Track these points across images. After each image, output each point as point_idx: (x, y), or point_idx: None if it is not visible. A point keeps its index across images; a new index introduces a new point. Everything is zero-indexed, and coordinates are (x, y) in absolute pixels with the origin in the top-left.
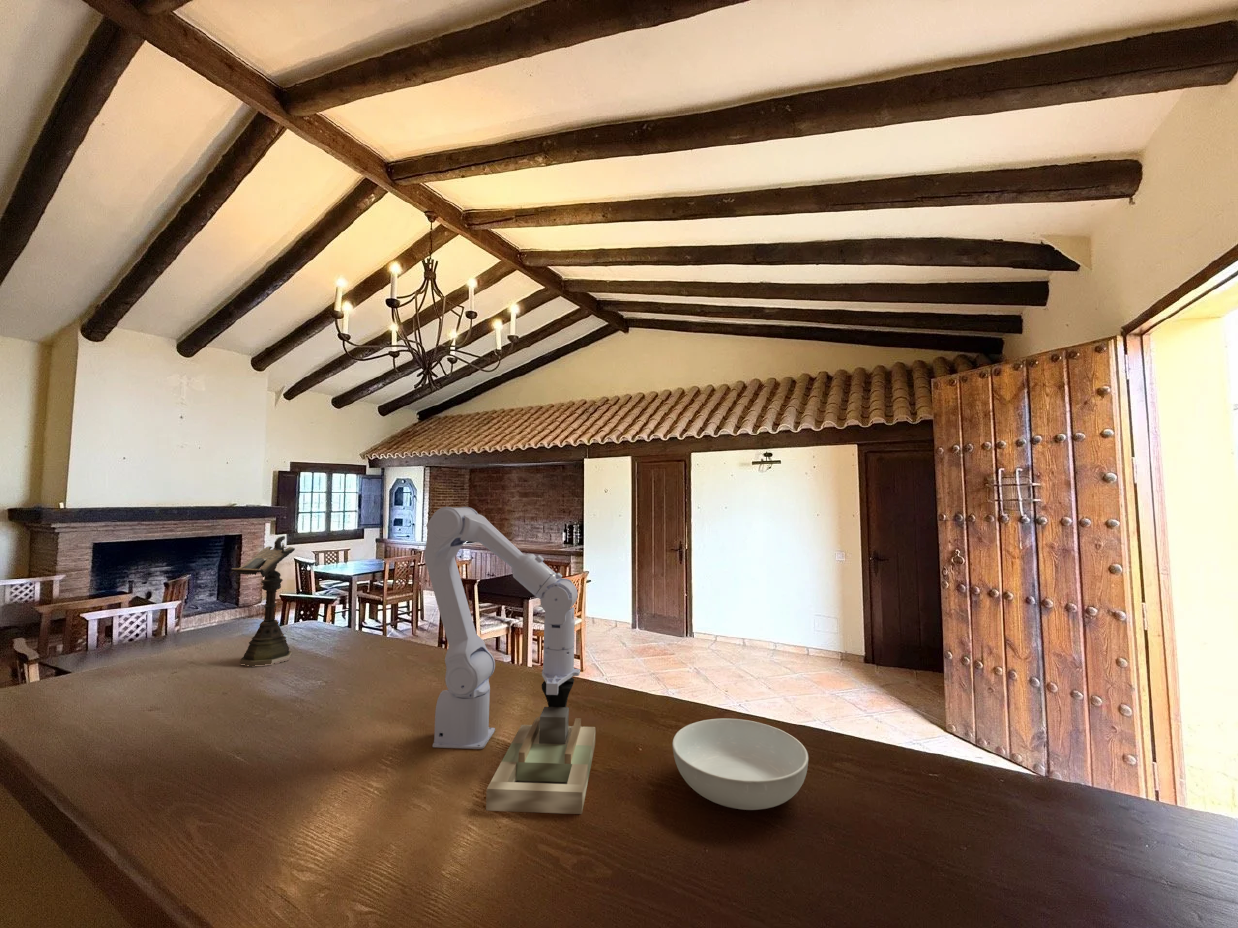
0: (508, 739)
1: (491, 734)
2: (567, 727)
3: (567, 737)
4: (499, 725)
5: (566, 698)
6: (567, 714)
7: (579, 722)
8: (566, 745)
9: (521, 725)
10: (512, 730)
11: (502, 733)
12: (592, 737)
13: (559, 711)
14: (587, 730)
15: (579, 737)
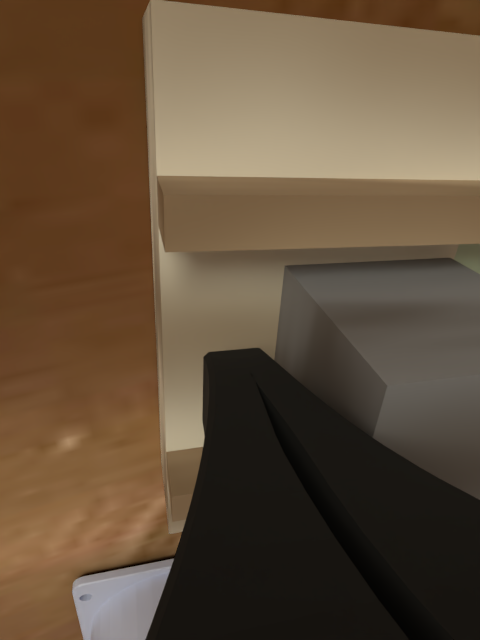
0: (148, 506)
1: (140, 571)
2: (366, 289)
3: (358, 257)
4: (6, 583)
5: (476, 499)
6: (459, 351)
7: (271, 197)
8: (465, 244)
9: (178, 529)
10: (47, 527)
11: (91, 544)
12: (386, 35)
13: (471, 437)
14: (240, 97)
15: (370, 164)
